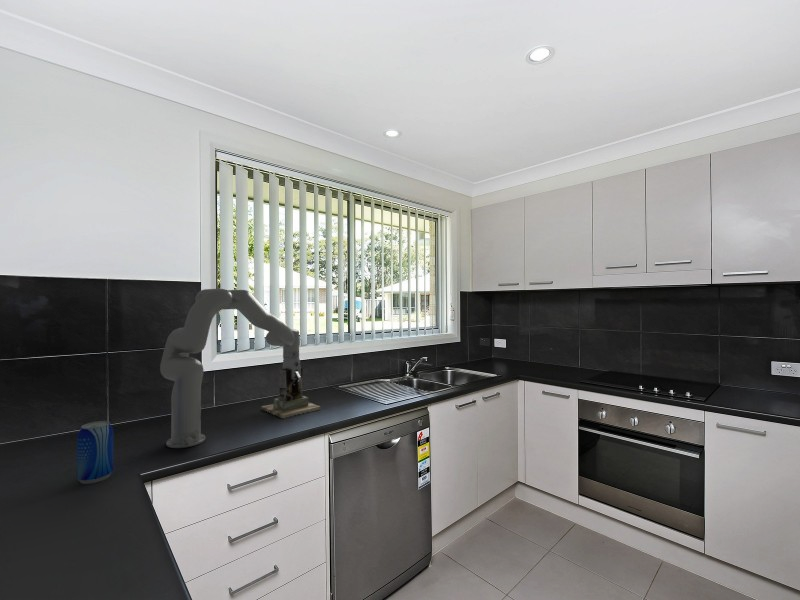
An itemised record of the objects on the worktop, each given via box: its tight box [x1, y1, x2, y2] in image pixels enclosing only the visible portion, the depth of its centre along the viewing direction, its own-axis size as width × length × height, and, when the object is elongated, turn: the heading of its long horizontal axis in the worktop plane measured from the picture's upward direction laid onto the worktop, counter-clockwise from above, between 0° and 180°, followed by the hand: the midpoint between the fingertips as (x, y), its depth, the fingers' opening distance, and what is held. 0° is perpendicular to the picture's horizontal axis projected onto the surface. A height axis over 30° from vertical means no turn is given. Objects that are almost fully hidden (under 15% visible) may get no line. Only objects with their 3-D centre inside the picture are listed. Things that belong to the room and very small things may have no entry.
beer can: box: [76, 420, 114, 485], centre depth 112 cm, size 8×8×16 cm
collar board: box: [261, 395, 321, 419], centre depth 182 cm, size 20×20×6 cm
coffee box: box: [278, 367, 303, 402], centre depth 182 cm, size 9×6×16 cm
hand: (291, 391), depth 182 cm, fingers closed on coffee box, 6 cm apart
